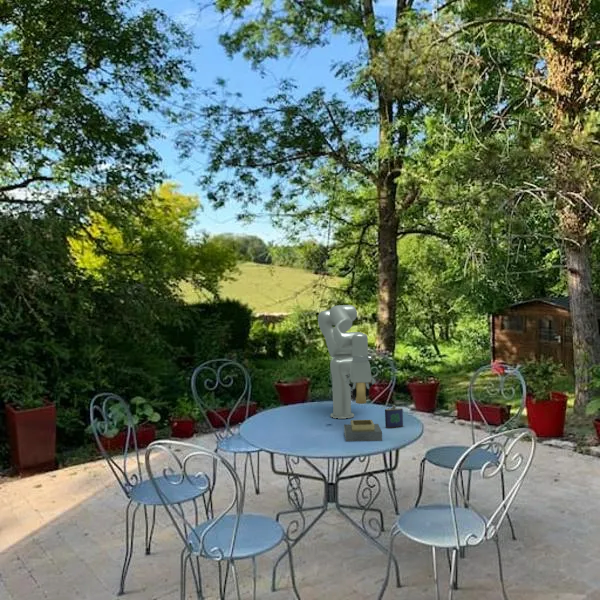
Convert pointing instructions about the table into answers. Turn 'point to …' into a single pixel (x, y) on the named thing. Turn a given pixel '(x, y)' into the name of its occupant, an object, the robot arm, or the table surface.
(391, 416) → the wallet
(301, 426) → the table surface
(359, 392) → the cylinder
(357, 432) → the grey square socket base
